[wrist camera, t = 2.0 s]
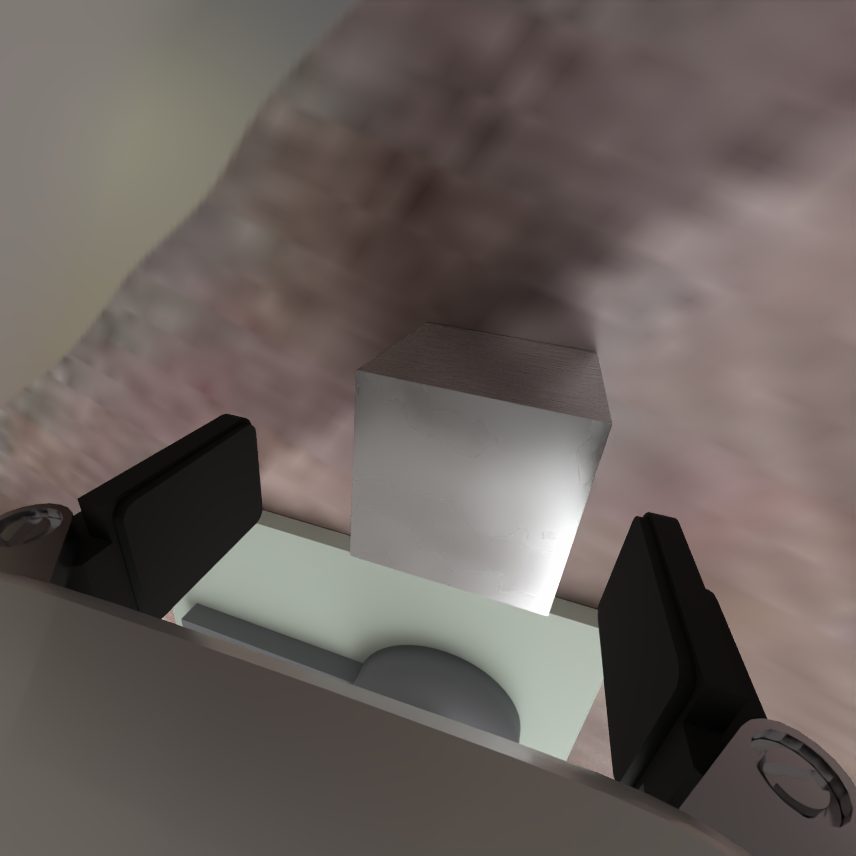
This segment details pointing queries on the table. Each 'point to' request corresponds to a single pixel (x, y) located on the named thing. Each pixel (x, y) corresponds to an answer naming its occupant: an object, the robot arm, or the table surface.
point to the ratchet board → (402, 634)
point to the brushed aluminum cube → (476, 460)
